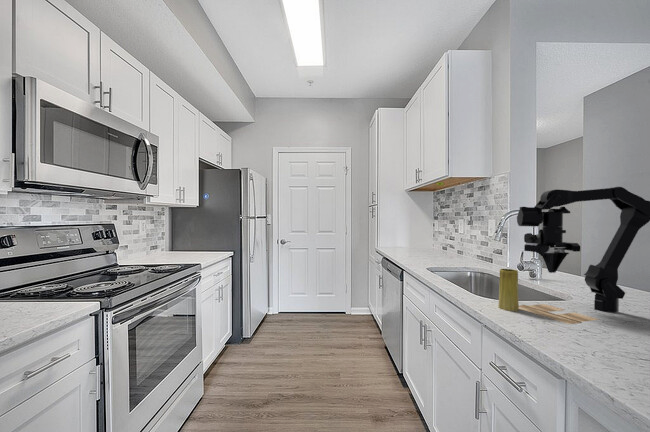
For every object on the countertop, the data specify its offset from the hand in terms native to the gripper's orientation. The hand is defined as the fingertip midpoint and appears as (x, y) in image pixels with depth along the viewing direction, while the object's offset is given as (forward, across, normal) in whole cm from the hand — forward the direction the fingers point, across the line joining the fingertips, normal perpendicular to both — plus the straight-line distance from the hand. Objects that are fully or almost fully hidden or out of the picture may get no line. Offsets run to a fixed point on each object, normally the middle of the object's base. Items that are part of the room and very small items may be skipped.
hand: (552, 272), depth 114 cm
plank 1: (+13, +4, +1) cm, 14 cm away
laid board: (+13, +11, +6) cm, 18 cm away
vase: (+13, +17, -2) cm, 22 cm away
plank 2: (+13, +4, +11) cm, 18 cm away
